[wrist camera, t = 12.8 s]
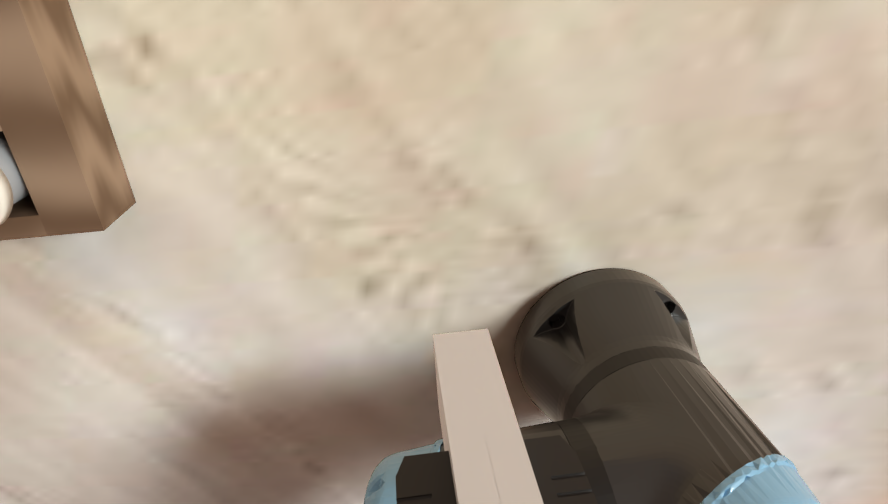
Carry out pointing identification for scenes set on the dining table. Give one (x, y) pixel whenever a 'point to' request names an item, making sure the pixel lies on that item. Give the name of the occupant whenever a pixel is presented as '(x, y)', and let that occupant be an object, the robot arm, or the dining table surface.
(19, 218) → the panel
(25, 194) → the knob
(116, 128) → the dining table surface
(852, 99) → the dining table surface
